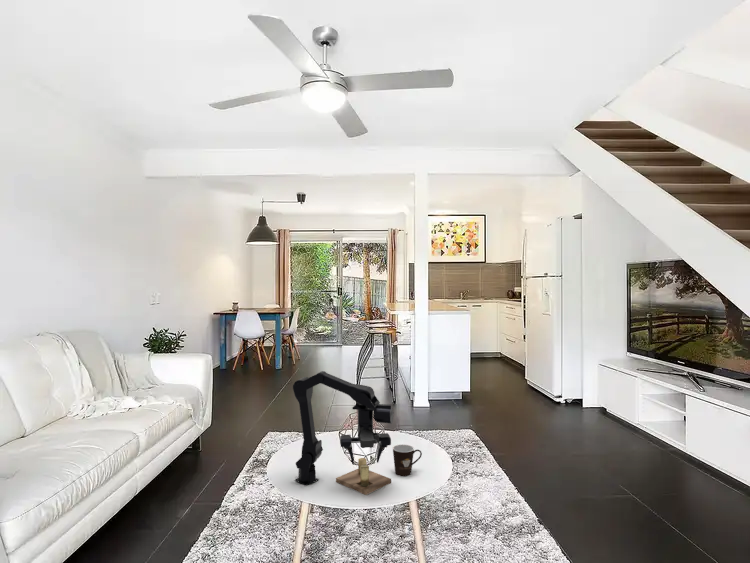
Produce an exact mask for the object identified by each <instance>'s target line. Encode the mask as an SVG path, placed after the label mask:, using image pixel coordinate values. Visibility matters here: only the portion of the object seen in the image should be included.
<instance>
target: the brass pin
mask: <svg viewBox="0 0 750 563" xmlns="http://www.w3.org/2000/svg"><path fill="white" fill-rule="evenodd" d="M369 470H370V465H368V464H366V465H361V466H360V486H362V487H367V486H369Z"/></svg>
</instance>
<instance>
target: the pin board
mask: <svg viewBox="0 0 750 563" xmlns="http://www.w3.org/2000/svg"><path fill="white" fill-rule="evenodd" d="M357 461H358V466H357V467H358V468H355V469H353V470H352V471H349V472H347V473H344V474H342V475H339V476H338V477H337V476H336V477H335V482H336V483H338V484H340V485H342V486H344V487H346V488H349V489H351V490H353V491H356V492H358V493H361V494H363V495H365V496H368V495H369V494H371V493H373V492H376V491H377V490H379V489H381V488H383V487H386V486H387V485H389V484H392V478H391V477H387V476H385V475H383V474H380V473H378V472H375V471H373V470H370V469H369V486H367V487H362V486H360V466H361V465H367V462H368V461H367V458H365V457H359V458H358V459H357Z"/></svg>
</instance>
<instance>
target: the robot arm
mask: <svg viewBox="0 0 750 563" xmlns="http://www.w3.org/2000/svg"><path fill="white" fill-rule="evenodd" d="M319 384H321V385H324V386H326V387H329V388H331V389H333V390H336V391H338V392H339V393H340V392H341V393H343V394H345V395H347V396H349V397H350V398H351V399H352V400H353V401H355V405H354V406H353V407H351V408H352V409H351V410H357V436H356V437H352V436H351V434H341V435H340V436H339V444H340V448H343V449H345V450H347V451H348V454H349V456H350V459H351V464H352V465H354V462H355V460H354V453H353V446H352V444H357V443H358V444H359V446H360V448H361V449H366V448H369V449H372V448H374V446H375V444H377V448H376V449H377V450H376V463H377V464H379V461H380V459H381V456H382V452H383V451H384V449H385V448H388V446H391V445H392V438H391V436H390V434H389V433H388V432H385V433H379V432H375V431H374V422H376V423H378V424H379V423H381V424H393V422H394V415H395V414H394V409H393V405H392V403H390V404H389V403H387V404H385V403H381V402H380V401H379V399H378V398H377V396H376V395H375V391H374V388H372V387H371V386H368V385H365V384H357V383H352V382H350V381H346V380H344V379H342V378H340V377H338V376H335V375H333V374H330V373H328V372H327V371H323V370H321V371H320V372H316V374H314V375H312V376H309V377H308V376H304V377H301V378H299V379H297V380H296V381H294V383H293V384H292V391H293V394H294V397H295V399H296V400H297V402H298V406H299V411H300V420H301V428H302V437H303V442H302V446H301V457H300V458H299V459H298V460H297V461H296V462H295V466H296V468H297V469H298V477H297V478H295V480H294V481H295V482H297V483H299V484H302V485H304V486H308V485H310V484H313V483H315V482H317V481H319V478H317V477H316V465H315V463H316V462H317V460H318V459H319V458H320V457H321V455H322V453H323V451H324V449H323V447H322V445H323V444H322V443H323V442H322V440H321V439H318V438H317V435H316V429H315V422H314V413H313V406H312V396H313V393H314V387H315V386H317V385H319Z"/></svg>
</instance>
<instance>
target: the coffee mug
mask: <svg viewBox="0 0 750 563" xmlns="http://www.w3.org/2000/svg"><path fill="white" fill-rule="evenodd" d="M417 452H419V453H420V454H419V456H418V458H417V459H416V460H413V459H414V455H415V453H417ZM392 454H393V463H394V471H395V472H394V473H395V475H396V476H399V477H408V476H411V474H412V469H413V465H414V464H416V463H417V462H418V461H419V460H420V459H421V458H422V455H423V452H422V450H420V449H415V448H414V446H412V445H409V444H397V445H393V446H392Z"/></svg>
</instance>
